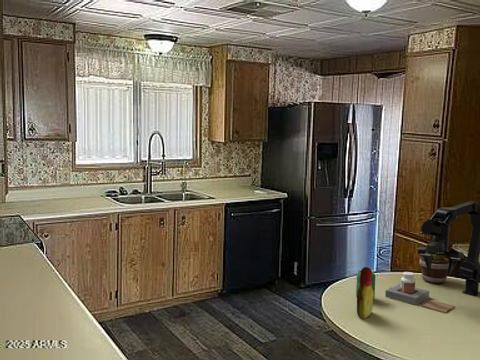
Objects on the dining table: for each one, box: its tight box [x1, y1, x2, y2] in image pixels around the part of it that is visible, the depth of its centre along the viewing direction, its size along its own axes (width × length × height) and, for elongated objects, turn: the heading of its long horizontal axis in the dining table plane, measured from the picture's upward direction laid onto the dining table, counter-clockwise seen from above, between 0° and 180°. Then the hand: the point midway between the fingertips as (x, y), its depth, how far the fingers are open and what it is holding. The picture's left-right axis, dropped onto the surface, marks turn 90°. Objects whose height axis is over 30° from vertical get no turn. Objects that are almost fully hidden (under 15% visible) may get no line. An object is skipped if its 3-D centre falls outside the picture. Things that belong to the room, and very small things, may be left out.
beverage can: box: [355, 270, 376, 300], centre depth 217 cm, size 8×8×12 cm
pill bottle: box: [400, 271, 416, 295], centre depth 220 cm, size 6×6×11 cm
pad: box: [421, 299, 456, 314], centre depth 209 cm, size 10×10×1 cm
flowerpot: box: [418, 251, 449, 285], centre depth 245 cm, size 14×15×20 cm
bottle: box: [356, 266, 374, 319], centre depth 197 cm, size 12×6×20 cm, turn 154°
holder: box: [385, 283, 430, 306], centre depth 221 cm, size 14×14×3 cm
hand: (438, 273), depth 211 cm, fingers open, 9 cm apart
